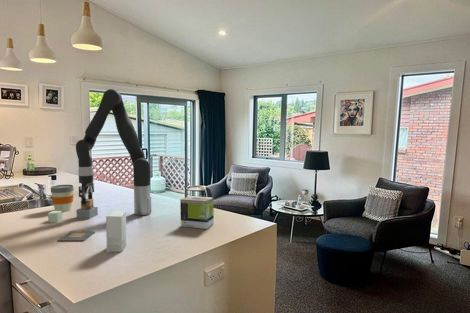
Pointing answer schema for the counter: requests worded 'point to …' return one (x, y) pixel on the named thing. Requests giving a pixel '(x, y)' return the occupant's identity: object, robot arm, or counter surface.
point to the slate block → (87, 213)
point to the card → (77, 236)
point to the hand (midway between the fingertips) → (87, 202)
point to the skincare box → (116, 231)
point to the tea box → (197, 212)
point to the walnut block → (87, 205)
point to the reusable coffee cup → (62, 197)
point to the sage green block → (54, 216)
